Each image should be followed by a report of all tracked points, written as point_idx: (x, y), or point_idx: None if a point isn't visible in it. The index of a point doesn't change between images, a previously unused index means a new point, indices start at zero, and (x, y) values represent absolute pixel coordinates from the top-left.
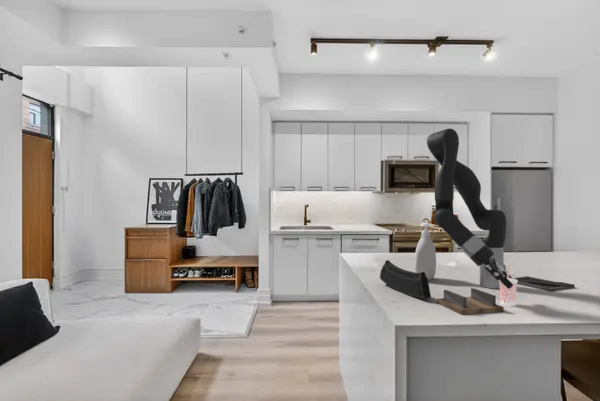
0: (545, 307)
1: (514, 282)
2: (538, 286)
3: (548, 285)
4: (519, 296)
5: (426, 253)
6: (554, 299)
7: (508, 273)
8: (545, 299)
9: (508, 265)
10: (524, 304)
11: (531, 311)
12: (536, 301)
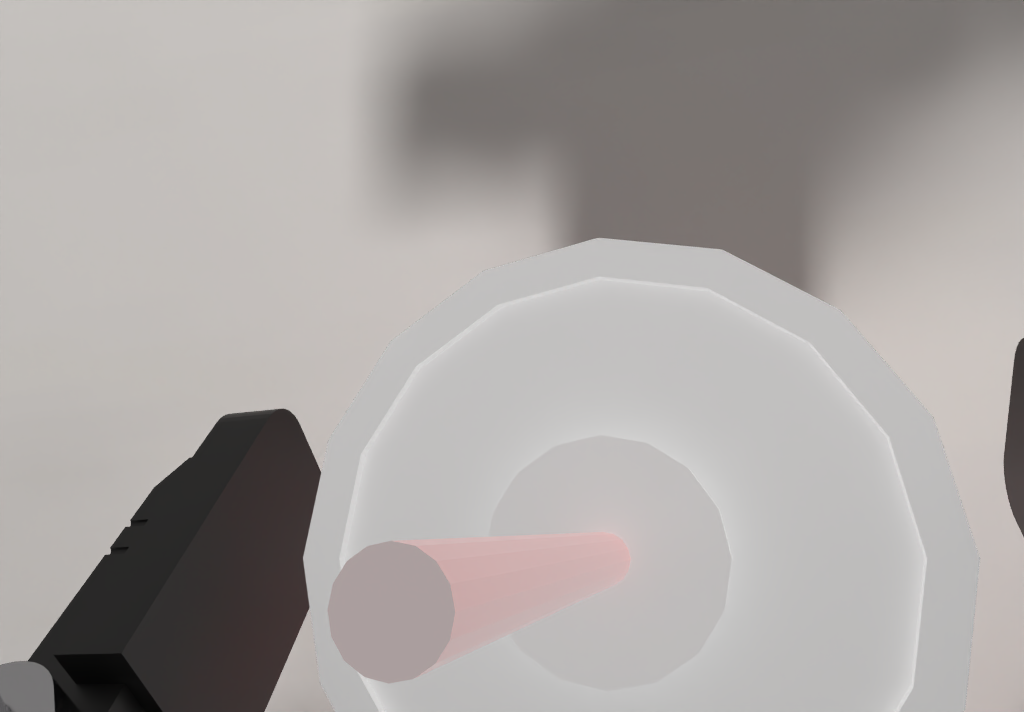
0: (511, 43)
1: (810, 317)
2: None
3: None
4: (45, 443)
5: None
6: (9, 42)
7: (569, 538)
8: (58, 125)
9: (409, 546)
10: None
11: (920, 150)
12: (225, 198)
